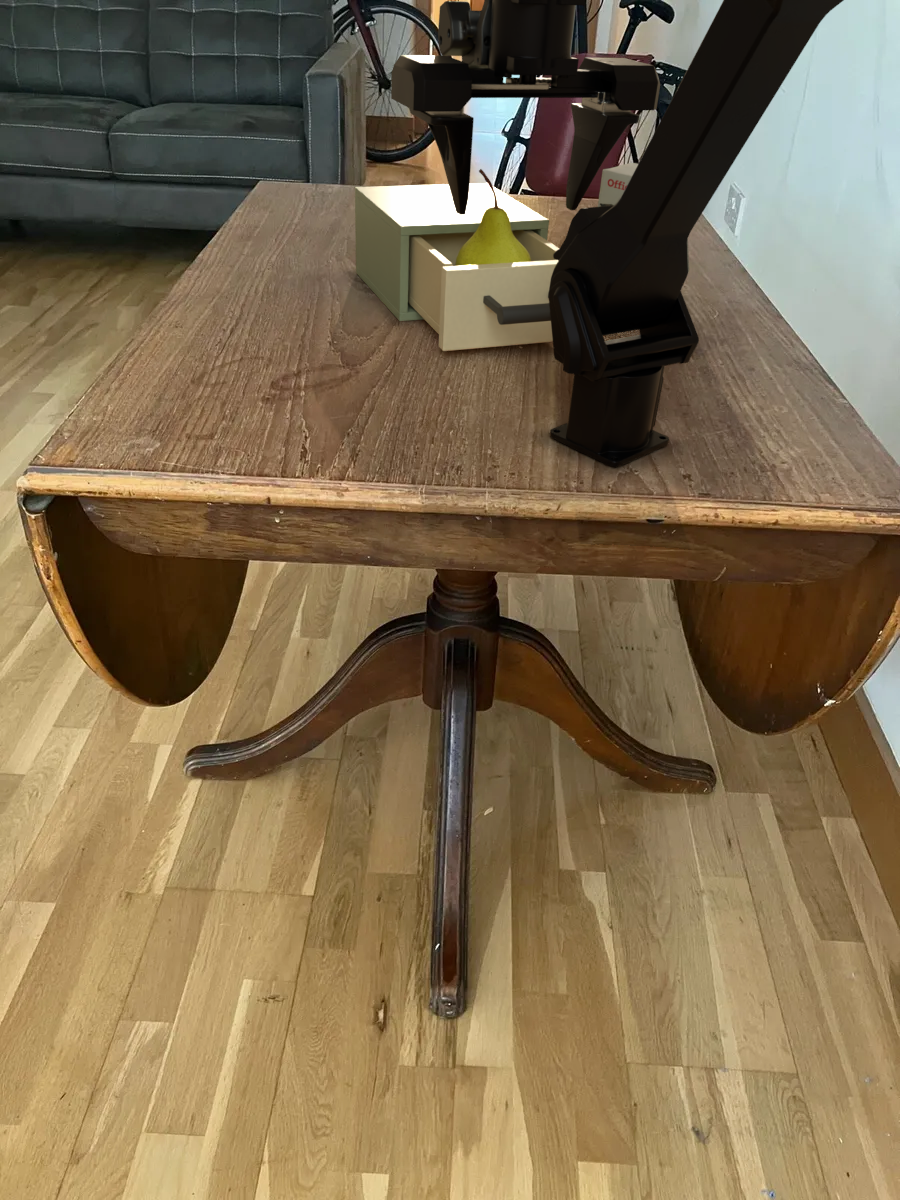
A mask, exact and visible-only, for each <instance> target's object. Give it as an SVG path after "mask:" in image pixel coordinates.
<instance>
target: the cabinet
mask: <svg viewBox="0 0 900 1200" xmlns="http://www.w3.org/2000/svg"><path fill="white" fill-rule="evenodd" d="M493 188H494V191H495V194H496V198H497V203H498V207H499V208H502V209H503V210H504V211H505V212H506V213H507V215H508V217H509V220H510V225H511V230H532V231H533V232H535V233H536V234H538V235H539V236H541V237H543V238H544V239H546V240H547V241H548V235H549V228H550V227H549V226H550V219H549V218H547V217H546V216H543V215H542V214H540V213H538V212H537V211H535V210H533V209H532V208H530V207H528V206H527V205H525V204H523V203H521V202H520V201H519V200H517V199H515V198H513V197H512V196H510V195H508V194H507V193H505V192H504V191H501V190H500V189H498V188H496V187H495V186H493ZM494 203H495V200H494V194H493V191H492V189H491V188H490V186H489V185H488V184H487V182H473V183H472V182H471V183H470V185H469V197H468V203H467V208H466V213H465V215H460V214H458V213H457V212H456V210H455V206H454V203H453V199H452V195H451V191H450V188H449V184H448V183H446V184H445V183H440V184H439V183H437V184H410V185H409V184H408V185H378V186H377V185H376V186H373V185H372V186H355V187H354V217H355V218H354V229H355V230H354V235H355V236H354V237H355V238H354V239H355V274H356V275H357V276H358V277H359V278H360V279H361V281H363V282H364V284H365V285H366V286H367V287H368V288H369V289H370V290H371V291H372V293H374V294H375V296H376V297H377V298H378V299H379V300H380V301H381V302H382V304H383V305H384V306H385V307H386V308H387V310H389V311H390V313H391V314H392V315H393V316H394V317H395V318H396V319H397V320H398V322H409V321H421V320H425V319H424V318H423V317H422V316H421V315H420V314H419V313H418V312H417V311H416V310H415V309H414V308H413V307H412V306H411V305H410V304H409V303H408V268H409V235H426V234H447V233H468V232H476V230H477V229H478V227H479V225H480V223H481V220H482V216H483V214H484V212H485V211H486V210H487V209H488V208H491V207H494Z"/></svg>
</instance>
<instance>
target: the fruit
mask: <svg viewBox="0 0 900 1200" xmlns="http://www.w3.org/2000/svg"><path fill="white" fill-rule="evenodd" d="M478 172H479V173H480V174H481V175H482V177H483V178H484V181H485V183H487V184H488V185H489V186H490V188H491V189H492V191H493V194H494V200H495V203H494V207H491V208H488V209H487V210H486V211H485V212H484V214H483V216H482V220H481V223H480V225H479V227H478V229H477V230H476V232H475V233H474V235H473V236H472V237H471V238H470V239H469V240H468V241H467V242H466V243H465V244H464V245H463V246H462V248H461V249H460V251H459V253H458V256H457V258H456V264H455V266H464V265H481V264H498V263H515V262H531V258H530V255H529V253H528V251H527V250H526V248H525V247H524V246H523V245H522V244H521V243H520V242H519V241H518V240H517V239H516V238H515V237H514V235H513V233H512V230H511V225H510V220H509V217H508V215H507V213H506V212H505V211H504V210H503V209H502V208H499V207H498V203H497V198H496V194H495V191H494V188H493V187H494V185H493V184H492V182H491V179H489V177H488V176H487V174H486V173H485V172H484V170H483V169H482V168H480V169H479V170H478Z"/></svg>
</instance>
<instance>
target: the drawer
mask: <svg viewBox="0 0 900 1200" xmlns="http://www.w3.org/2000/svg"><path fill="white" fill-rule="evenodd" d="M474 233H475V232H468V233H447V234H426V235H409V268H408V303H409V304H410V305H411V306H412V307H413V308H414V309H415V310H416V311H417V312H418V313H419V314H420V315H421V316H422V317H423V318H424V319H423V320H424V321H425V322H426V323H427V324H428V325H430V327H431V328H432V329H433V330H434V331H435V332H436V334H438V347H439V349H440V350H441V351H442V352H447V351H448V352H449V351H459V350H461V351H462V350H473V349H483V348H496V347H506V346H518V345H528V344H540V343H553V338H552V327H551V317H550V306H549V287H550V281H551V276H552V273H553V270H554V268H555V266H556V264H557V262H558V261H559V260H556V259H554V258H553V254H554V253H555V252H556V251H557V250H558V249H559V248H560V247H558V246H557V245H555V244H553V243H552V242H550V241H549V240H548V239H547V240H546V239H544V238H543V237H541V236H539V235H538V234H536V233H535V232H533V231H532V230H512V233H513V235H514V237H515V238H516V239H517V240H518V241H519V242H520V243H521V244H522V245H523V246H524V247H525V248H526V250H527V251H528V253H529V255H530V258H531V262H515V263H498V264H481V265H464V266H455V264H456V258H457V256H458V253H459V251H460V249H461V248H462V246H463V245H464V244H465V243H466V242H467V241H468V240H469V239H470V238H471V237H472V236H473V235H474Z"/></svg>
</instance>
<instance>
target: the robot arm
mask: <svg viewBox="0 0 900 1200" xmlns="http://www.w3.org/2000/svg"><path fill="white" fill-rule="evenodd" d="M844 1H845V0H722V3H721V4H720V6H719V8H718V10H717V12H716V14H715V16H714V18H713V19H712V21H711V23H710V25H709V26H708V27H709V28H708V29H707V31H706V33H705V35H704V37H703V39H702V40H701V43H700V45H699V46H698V49H697V50H696V53H695V54H694V56H693V58H692V60H691V62H690V63H689V66H688V68H687V69H686V72H685V74H684V75H683V76H682V79H681V81H680V83H679V84H678V87H677V89H676V91H675V92H674V94H673V97H672V98H671V100H670V102H669V104H668V106H667V108H666V110H665V112H664V113H663V116H662V117H661V119H660V122H658V123H659V124H658V125H657V127H656V128H655V131H654V133H653V135H652V137H651V138H650V141H649V142H648V145H647V146H646V148H645V150H644V152H643V154H642V156H641V158H640V159H639V162H638V163H637V164H638V166H637V168H636V169H635V171H634V173H633V175H632V177H631V179H630V181H629V183H628V185H627V187H626V189H625V191H624V193H623V194H622V196H621V198H620V199H619V201H618V202H617V203H616V204H615V205H610V206H600V207H598V206H592V207H591V206H590V207H581V208H580V209H579V210H578V211H577V212H576V213H575V215H574V216H573V218H572V219H571V221H570V224H569V227H568V230H567V233H566V235H565V238H564V240H563V242H562V243H561V246H560V247H558V248H559V249H558V250H557V251H556V252H555V253H554V254H553V258H554V259H556V260H559V261H558V262H557V264H556V266H555V268H554V270H553V273H552V276H551V281H550V287H549V306H550V317H551V327H552V338H553V342H552V346H553V347H552V349H553V357H554V360H556V361H557V362H559V363H560V364H562V371H563V372H565V373H567V374H568V375H573V380H572V385H571V395H570V401H569V402H570V403H569V410H568V418H567V423H563V424H561V425H558V426H556V427H552V428H551V429H549V437H550V438H551V439H553V440H555V441H556V442H559V443H561V444H563V445H565V446H567V447H570V448H572V449H574V450H575V451H577V452H580V453H582V454H584V455H586V456H589V457H590V458H592V459H594V460H597V461H599V462H600V463H602V464H605V465H607V466H609V467H612V468H617V467H618V468H619V467H621V466H624V465H626V464H627V463H631V462H633V461H635V460H637V459H639V458H641V457H644V456H647V455H648V454H650V453H653V452H655V451H657V450H659V449H662V448H664V447H666V446H668V445H669V442H670V437H669V436H667V435H665V434H664V433H660V432H659V431H656V430H654V428H655V426H656V422H657V416H658V409H659V404H660V400H661V394H662V390H663V385H664V384H663V383H664V371H665V368H666V367H667V366H671V365H676V364H677V365H678V364H680V365H683V364H687V363H689V362H690V360H691V358H692V356H693V354H694V352H695V350H696V348H697V346H698V344H699V342H700V338H699V335H698V332H697V329H696V327H695V324H694V321H693V319H692V316H691V314H690V311H689V309H688V306H687V304H686V301H685V298H684V295H683V293H682V289H683V286H684V284H685V282H686V279H687V277H688V275H689V271H690V259H689V258H690V257H689V255H690V254H689V237H690V234H691V232H692V230H693V229H694V227H695V225H696V224H697V223H698V221H699V219H700V217H701V216H702V214H703V213H704V211H705V209H706V208H707V207H708V204H709V203H710V201H711V200H712V198H713V197H714V194H715V193H716V192H717V190H718V188H719V187H720V185H721V183H722V182H723V181H724V178H725V177H726V175H727V174H728V172H729V171H730V169H731V167H732V166H733V164H734V162H735V161H736V159H737V158H738V156H739V154H740V153H741V151H742V149H743V148H744V147H745V144H746V143H747V142H748V140H749V139H750V136H751V135H752V134H753V132H754V130H755V129H756V127H757V125H758V123H760V120H761V119H762V117H763V116H764V113H766V110H767V109H768V108H769V106H770V104H771V102H772V101H773V99H774V98H775V96H776V94H777V93H778V92H779V90H780V88H781V87H782V85H783V83H784V81H785V80H786V78H787V76H788V75H789V73H790V72H791V70H792V69H793V67H794V66H795V64H796V62H797V60H798V59H799V57H800V56H801V54H802V52H803V51H804V49H805V47H806V46H807V44H808V42H809V41H810V40H811V38H812V36H813V34H814V33H815V31H816V30H817V28H818V27H819V25H820V23H821V22H822V21H823V19H824V18H825V17H826V16H827V15H828V14H829V13H830V12H831V11H832V10H834V9H835V8H836V7H837V6H839V5H840V4H841V3H842V2H844ZM585 5H586V0H484V1H483V5H482V8H481V10H472V7H471V3H470V2H468V1H461V0H445V1H444V2H443V3H442V4H441V5H440V6H439V14H438V27H437V38H438V50H439V53H440V54H441V55H435V54H434V55H433V54H432V55H431V54H429V55H427V54H426V55H425V54H424V55H423V54H400V55H399V56H398V58H397V59H396V61H395V63H394V64H393V66H392V70H391V73H390V74H391V78H390V79H391V83H390V85H391V86H390V88H391V90H390V99H391V100H393V101H395V102H397V103H399V104H401V105H403V106H405V107H406V108H408V109H409V113H410V114H411V115H413V116H415V117H416V118H417V119H420V120H422V121H424V122H425V123H426V124H427V127H428V129H430V131H431V134H432V136H433V138H434V141H435V144H436V146H437V149H438V152H439V155H440V158H441V161H442V165H443V169H444V173H445V176H446V179H447V184H449V188H450V191H451V195H452V199H453V203H454V206H455V210H456V212H457V213H458V214H460V215H465V213H466V208H467V203H468V197H469V185H470V182H471V166H472V153H473V152H472V151H473V138H474V137H473V135H474V117H473V116H472V115H469V114H467V113H465V106H466V105H467V104H468V103H469V101H471V99H544V98H545V99H548V98H549V99H553V98H554V99H581V102H577V103H576V102H573V103H572V102H571V104H570V108H571V114H572V121H573V127H574V128H573V129H574V130H573V131H574V133H573V140H572V147H571V154H570V159H569V160H570V161H569V166H568V174H567V181H566V190H565V207H566V208H567V209H568V210H570V211H576V210H577V209H578V207H579V205H580V203H581V201H582V200H583V198H584V196H585V195H586V193H587V192H588V190H589V187H590V186H591V184H592V182H593V181H594V178H595V177H596V175H597V174H598V171H599V170H600V169H601V167H602V164H604V162H605V160H606V158H607V157H608V155H609V154H610V152H611V151H612V150H613V148H614V146H615V145H616V144H617V142H618V141H619V139H620V138H621V137H622V135H623V133H624V132H625V131H626V129H627V128H628V127H629V125H632V124H633V125H636V124H639V122H640V118H641V116H640V115H639V114H638V113H634V112H632V111H655V110H657V107H658V101H659V95H660V91H661V90H660V88H661V82H660V78H659V74H658V71H657V69H656V67H655V65H653V64H649V63H645V62H642V61H637V60H633V59H630V58H626V57H584V58H583V60H582V62H581V63H580V65H579V61H580V59H579V58H576V57H573V56H571V55H572V48H573V47H572V46H573V38H574V37H573V35H574V28H575V17H576V9H577V6H584V7H585ZM454 57H461V60H459V59H457V58H454ZM513 76H518V77H513ZM537 76H551V77H537ZM504 78H505V82H504ZM632 331H639V334H638V335H637V334H636V335H631V336H626V337H621V338H615V339H614V338H613V339H609V340H605V338H604V336H611V335H617V334H621V333H622V334H623V333H626V332H627V333H629V332H632Z"/></svg>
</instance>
